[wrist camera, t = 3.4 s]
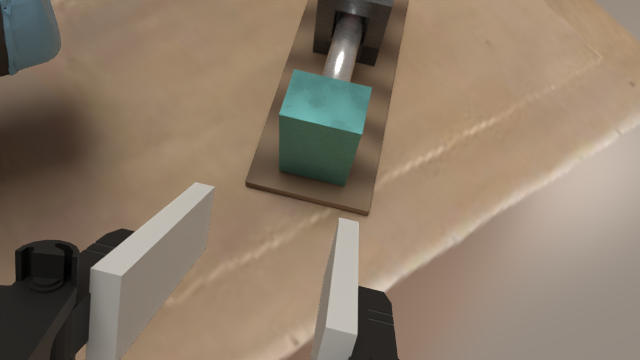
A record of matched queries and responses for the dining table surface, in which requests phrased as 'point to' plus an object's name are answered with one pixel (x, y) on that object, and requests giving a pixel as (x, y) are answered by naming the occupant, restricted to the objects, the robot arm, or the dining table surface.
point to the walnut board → (367, 155)
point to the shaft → (325, 111)
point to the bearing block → (376, 7)
